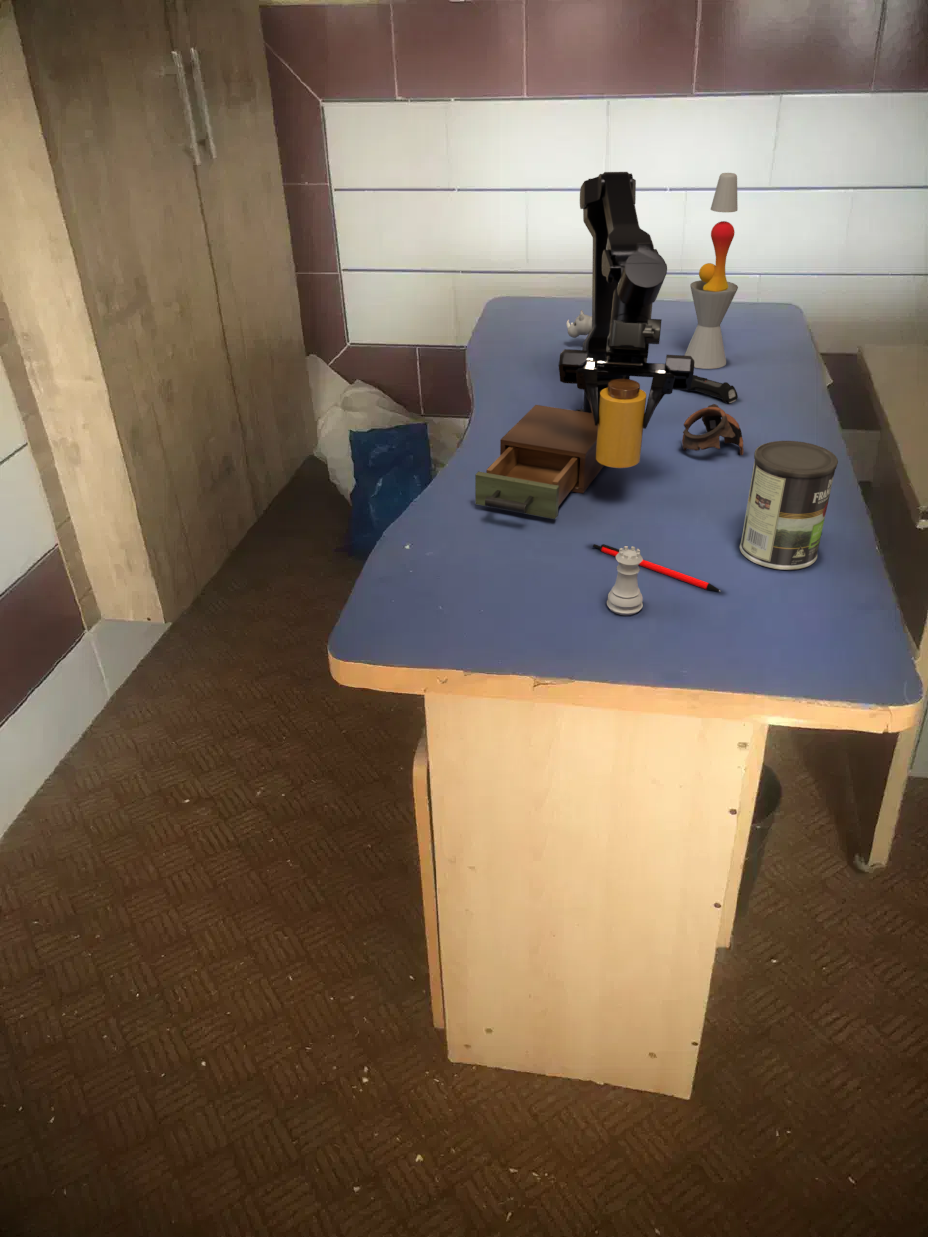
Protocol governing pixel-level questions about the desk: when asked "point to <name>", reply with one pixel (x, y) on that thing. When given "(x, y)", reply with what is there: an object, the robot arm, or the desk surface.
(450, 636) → the desk surface
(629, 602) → the rook chess piece
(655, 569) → the pen
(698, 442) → the pottery mug
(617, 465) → the bottle
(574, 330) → the round bodied animal figurine
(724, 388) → the black flashlight
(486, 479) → the drawer
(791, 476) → the coffee can
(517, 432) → the cabinet
